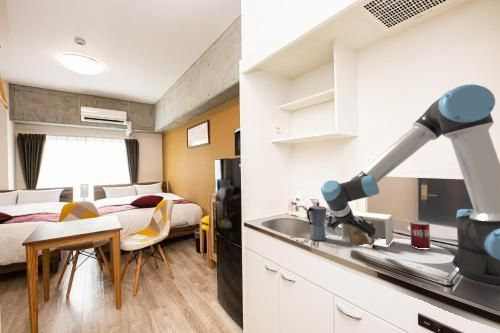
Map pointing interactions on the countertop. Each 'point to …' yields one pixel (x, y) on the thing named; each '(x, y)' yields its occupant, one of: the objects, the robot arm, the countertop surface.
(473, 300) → the countertop surface
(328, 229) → the french press
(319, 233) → the moka pot
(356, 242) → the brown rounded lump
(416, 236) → the soda can
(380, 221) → the white box
